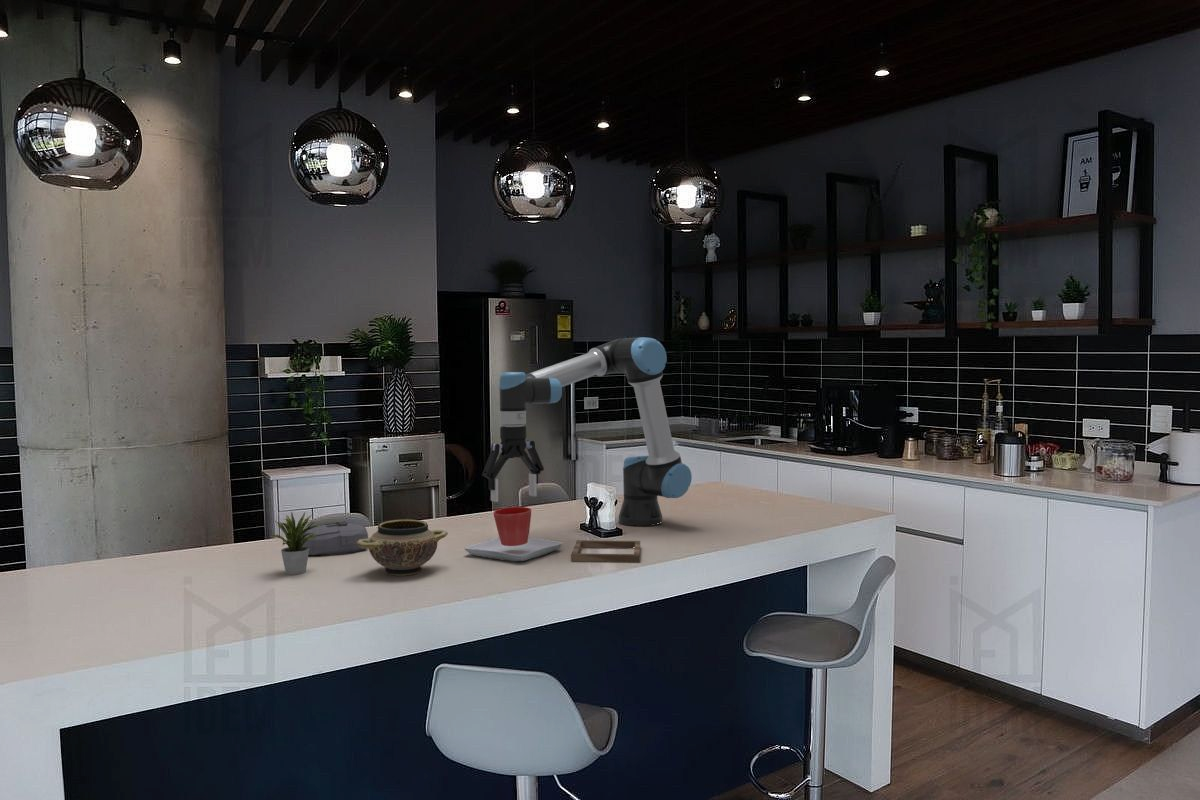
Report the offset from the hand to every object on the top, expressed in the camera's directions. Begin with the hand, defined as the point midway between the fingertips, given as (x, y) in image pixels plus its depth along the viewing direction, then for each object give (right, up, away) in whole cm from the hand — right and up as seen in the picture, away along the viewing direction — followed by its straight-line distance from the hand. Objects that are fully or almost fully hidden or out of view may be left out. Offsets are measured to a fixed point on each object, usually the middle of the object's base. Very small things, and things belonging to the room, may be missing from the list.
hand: (514, 498), depth 251 cm
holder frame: (+27, -16, -1) cm, 31 cm away
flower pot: (0, -13, +1) cm, 13 cm away
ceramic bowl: (-27, -17, -21) cm, 38 cm away
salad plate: (0, -17, +1) cm, 17 cm away
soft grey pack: (-54, -16, +5) cm, 57 cm away
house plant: (-56, -18, -22) cm, 62 cm away
